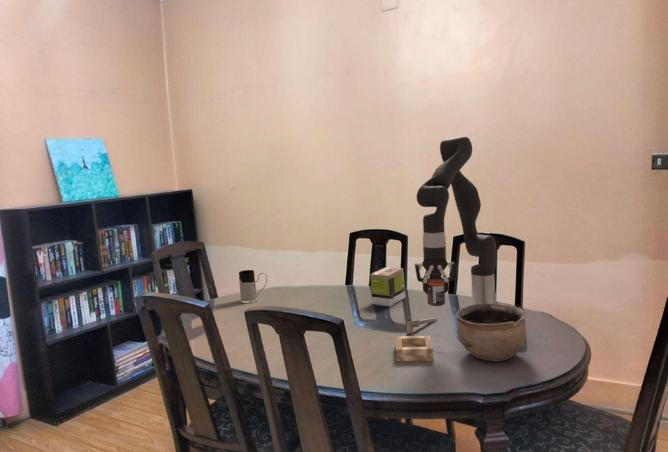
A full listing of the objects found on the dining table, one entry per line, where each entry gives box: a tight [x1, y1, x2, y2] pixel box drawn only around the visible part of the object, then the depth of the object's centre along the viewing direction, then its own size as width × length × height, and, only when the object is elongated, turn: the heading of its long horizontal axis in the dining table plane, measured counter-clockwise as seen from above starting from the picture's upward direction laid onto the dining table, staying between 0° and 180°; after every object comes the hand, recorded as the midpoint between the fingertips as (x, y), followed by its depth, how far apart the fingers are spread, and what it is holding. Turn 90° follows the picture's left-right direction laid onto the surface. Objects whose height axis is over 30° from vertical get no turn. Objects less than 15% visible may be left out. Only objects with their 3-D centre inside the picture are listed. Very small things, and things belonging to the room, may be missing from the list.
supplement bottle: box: [426, 273, 446, 307], centre depth 167 cm, size 6×6×11 cm
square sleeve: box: [394, 335, 434, 362], centre depth 166 cm, size 12×12×4 cm
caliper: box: [406, 317, 439, 336], centre depth 191 cm, size 20×1×6 cm, turn 137°
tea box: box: [370, 266, 406, 307], centre depth 227 cm, size 15×10×15 cm
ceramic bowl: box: [455, 303, 527, 362], centre depth 159 cm, size 22×22×15 cm
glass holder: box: [238, 269, 268, 301], centre depth 242 cm, size 9×14×15 cm, turn 96°
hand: (435, 292), depth 167 cm, fingers closed on supplement bottle, 6 cm apart
